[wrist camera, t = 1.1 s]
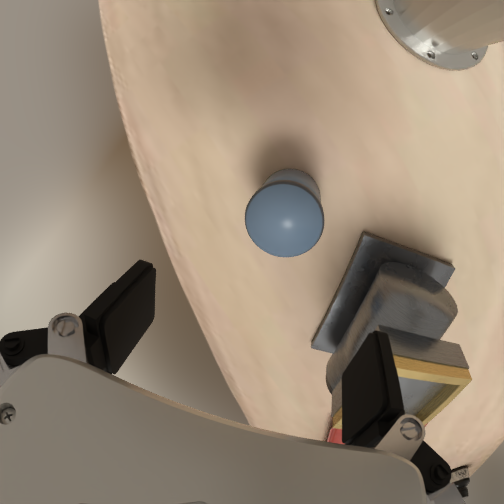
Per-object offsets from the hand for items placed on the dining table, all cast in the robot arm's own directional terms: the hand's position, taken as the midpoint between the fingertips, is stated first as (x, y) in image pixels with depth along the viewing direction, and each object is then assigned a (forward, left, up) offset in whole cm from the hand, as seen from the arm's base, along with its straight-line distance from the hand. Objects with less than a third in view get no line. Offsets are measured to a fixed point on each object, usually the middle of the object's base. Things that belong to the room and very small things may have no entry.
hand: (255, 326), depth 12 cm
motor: (+9, +14, -19) cm, 25 cm away
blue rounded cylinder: (0, 0, -19) cm, 19 cm away
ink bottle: (+62, +79, -19) cm, 102 cm away
